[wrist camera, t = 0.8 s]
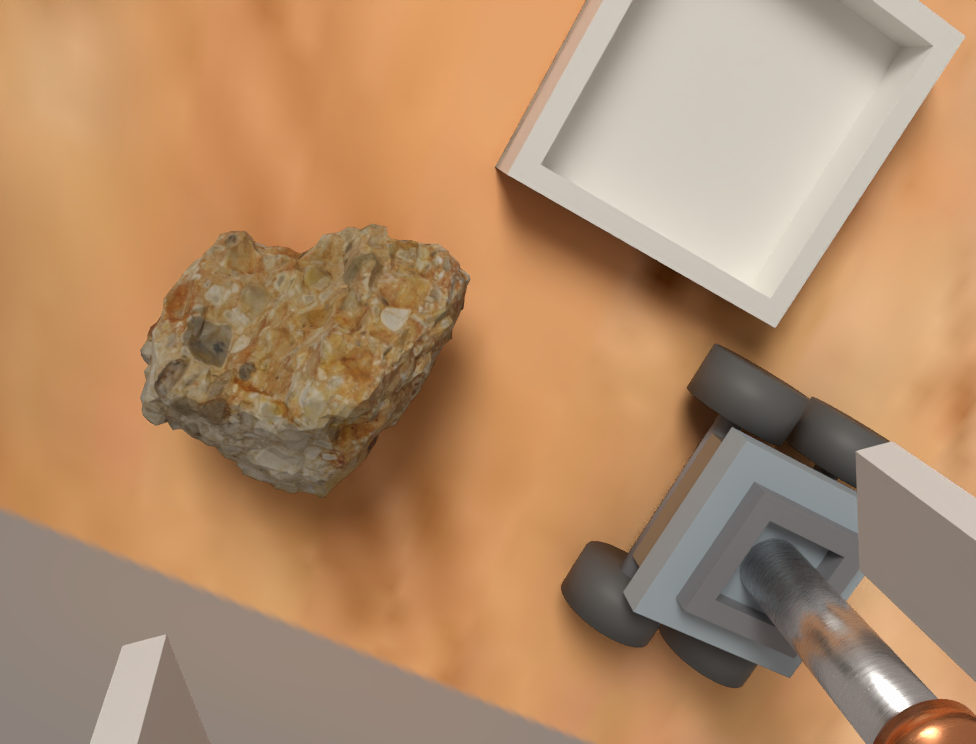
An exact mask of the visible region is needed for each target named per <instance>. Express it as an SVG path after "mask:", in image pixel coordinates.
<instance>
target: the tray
mask: <svg viewBox="0 0 976 744" xmlns="http://www.w3.org/2000/svg"><path fill="white" fill-rule="evenodd" d="M964 38H965V36H964V35H963V34H962V33H960V32H959V31H958V30H957V29H955V28H954V27H953V26H951V25H950V24H949V23H947V22H946V21H945V20H943V19H942V18H941V17H939V16H938V15H937V14H935V13H934V12H933V11H932V10H930V9H929V8H928V7H926V6H925V5H924V4H922V3H921V2H920V1H918V0H586V2H585V4H584V5H583V7H582V9H581V11H580V13H579V15H578V16H577V18H576V20H575V22H574V24H573V26H572V27H571V29H570V31H569V33H568V35H567V37H566V38H565V40H564V42H563V44H562V46H561V48H560V49H559V51H558V53H557V55H556V57H555V59H554V60H553V62H552V64H551V66H550V68H549V69H548V71H547V73H546V75H545V77H544V79H543V80H542V82H541V84H540V86H539V88H538V90H537V91H536V93H535V95H534V97H533V99H532V101H531V102H530V104H529V106H528V108H527V110H526V112H525V113H524V115H523V117H522V119H521V121H520V123H519V124H518V126H517V128H516V130H515V132H514V134H513V135H512V137H511V139H510V141H509V143H508V145H507V146H506V148H505V150H504V152H503V154H502V155H501V157H500V159H499V161H498V163H497V165H496V166H495V167H496V168H498V169H499V170H501V171H502V172H504V173H505V174H507V175H509V176H510V177H512V178H514V179H516V180H517V181H519V182H521V183H523V184H524V185H526V186H528V187H530V188H531V189H533V190H535V191H537V192H538V193H540V194H542V195H544V196H545V197H547V198H549V199H551V200H552V201H554V202H556V203H558V204H559V205H561V206H563V207H565V208H566V209H568V210H570V211H572V212H573V213H575V214H577V215H579V216H580V217H582V218H584V219H586V220H587V221H589V222H591V223H593V224H594V225H596V226H598V227H600V228H601V229H603V230H605V231H607V232H608V233H610V234H612V235H613V236H615V237H617V238H619V239H620V240H622V241H624V242H626V243H627V244H629V245H631V246H633V247H634V248H636V249H638V250H640V251H641V252H643V253H645V254H647V255H648V256H650V257H652V258H654V259H655V260H657V261H659V262H661V263H662V264H664V265H666V266H668V267H669V268H671V269H673V270H675V271H676V272H678V273H680V274H682V275H683V276H685V277H687V278H689V279H690V280H692V281H694V282H696V283H697V284H699V285H701V286H703V287H704V288H706V289H708V290H710V291H711V292H713V293H715V294H717V295H718V296H720V297H722V298H724V299H725V300H727V301H729V302H731V303H732V304H734V305H736V306H738V307H739V308H741V309H743V310H745V311H746V312H748V313H750V314H752V315H753V316H755V317H757V318H759V319H760V320H762V321H764V322H765V323H767V324H769V325H771V326H772V327H774V328H776V326H777V325H778V323H779V322H780V320H781V319H782V317H783V315H784V314H785V312H786V311H787V309H788V308H789V306H790V305H791V303H792V302H793V300H794V299H795V297H796V296H797V294H798V292H799V291H800V289H801V288H802V286H803V285H804V283H805V282H806V280H807V279H808V277H809V276H810V274H811V273H812V271H813V269H814V268H815V266H816V265H817V263H818V262H819V260H820V259H821V257H822V256H823V254H824V253H825V251H826V250H827V248H828V246H829V245H830V243H831V242H832V240H833V239H834V237H835V236H836V234H837V233H838V231H839V230H840V228H841V227H842V225H843V223H844V222H845V220H846V219H847V217H848V216H849V214H850V213H851V211H852V210H853V208H854V207H855V205H856V204H857V202H858V200H859V199H860V197H861V196H862V194H863V193H864V191H865V190H866V188H867V187H868V185H869V184H870V182H871V181H872V179H873V177H874V176H875V174H876V173H877V171H878V170H879V168H880V167H881V165H882V164H883V162H884V161H885V159H886V158H887V156H888V154H889V153H890V151H891V150H892V148H893V147H894V145H895V144H896V142H897V141H898V139H899V138H900V136H901V135H902V133H903V131H904V130H905V128H906V127H907V125H908V124H909V122H910V121H911V119H912V118H913V116H914V115H915V113H916V112H917V110H918V108H919V107H920V105H921V104H922V102H923V101H924V99H925V98H926V96H927V95H928V93H929V92H930V90H931V89H932V87H933V85H934V84H935V82H936V81H937V79H938V78H939V76H940V75H941V73H942V72H943V70H944V69H945V67H946V66H947V64H948V62H949V61H950V59H951V58H952V56H953V55H954V53H955V52H956V50H957V49H958V47H959V46H960V44H961V43H962V41H963V39H964Z"/></svg>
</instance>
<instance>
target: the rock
mask: <svg viewBox="0 0 976 744" xmlns="http://www.w3.org/2000/svg"><path fill="white" fill-rule="evenodd" d="M469 281H470V277H469V275H468V274H467V273H466V272H465V271H463V270H462V269H461V268H460V265H459V262H458V261H457V260H456V259H455V258H454V257H453V256H452V255H451V254H450V253H449V251H448V250H446V249H445V248H443V247H442V246H440V245H439V244H423V243H418V242H415V241H412V240H401V241H400V240H395V239H391V238H390V237H389V236H388V232H387V228H386V227H385V226H381V225H375V224H371V225H369V226H367V227H365V228H363V229H358V228H355V227H347V228H345V229H344V230H342V231H341V232H338V233H330V234H326V235H322V237H321V238H320V240H319V242H318V243H317V245H315V246H314V247H312V248H311V249H309V250H308V251H306V252H304V253H302V254H301V253H297V252H295V251H293V250H291V249H290V248H286V247H280V246H273V247H266V246H264V245H262V244H260V243H257V242H255V241H253V239H252V237H251V236H250V235H249V234H248V233H247V232H245V231H230V232H227V233H224V234H221V235H220V236H219V237H218V239H217V240H216V242H215V244H214V245H213V246H212V247H211V248H210V249H209V250H207V251H206V252H205V253H204V254H203V256H202V257H201V258H199V259H198V260H196V261H195V262H193V263H192V264H191V265H190V266H189V268H188V269H187V270H186V271H185V272H184V274H183V275H182V276H181V278H180V279H179V280H178V281H177V283H176V284H175V285H174V286H173V287H172V289H171V290H170V291H169V293H168V294H167V295H166V297H165V298H164V307H163V311H162V314H161V317H160V318H159V320H158V321H157V323H155V324H154V325H153V326H151V328H150V330H149V333H148V338H147V341H146V343H145V344H144V345H143V347H142V348H141V356H142V357H143V359H144V361H145V362H146V363H147V364H148V365H149V366H148V367H147V368H146V369H145V370H144V373H145V377H146V383H145V386H144V388H143V391H142V394H141V397H140V398H141V402H142V413H143V416H144V417H145V418H146V419H147V420H148V421H149V422H150V423H152V424H154V425H156V426H157V425H160V424H163V423H166V422H168V423H169V425H170V426H171V428H172V430H176V429H183V430H184V431H185V432H186V433H187V434H189V435H190V436H191V437H193V438H195V439H198V440H200V441H202V442H203V443H205V444H206V445H209V446H214V447H216V448H217V449H218V450H219V452H220V453H221V454H222V455H223V456H224V457H225V458H227V459H230V460H233V461H235V462H236V465H237V466H238V467H239V468H241V470H242V473H243V475H246V476H249V477H251V478H254V479H256V480H259V481H264V482H268V483H270V484H271V485H272V486H273V487H274V488H275V489H282V490H284V491H286V492H288V493H296V492H300V491H302V492H307V493H311V494H316V495H317V496H318V497H319V498H325V496H326V495H327V494H328V493H329V492H330V491H331V490H332V489H333V488H334V487H335V486H336V485H337V484H338V483H340V482H341V481H342V480H343V479H344V478H345V477H346V476H348V475H349V474H350V473H351V472H352V471H353V470H355V469H356V468H357V467H358V466H359V465H360V464H361V463H362V462H363V461H364V460H365V459H366V457H367V456H368V454H369V452H370V450H371V449H372V447H373V446H374V445H375V443H376V440H377V438H378V435H379V433H380V432H382V431H383V430H384V429H386V428H388V427H391V426H393V425H395V424H396V423H397V421H398V420H399V419H400V418H401V416H402V414H403V413H404V411H405V410H406V408H407V407H408V405H409V403H410V402H411V401H412V400H413V399H414V397H415V396H416V395H417V394H418V393H419V392H420V389H421V386H422V385H423V383H424V382H425V380H426V379H427V377H428V376H429V374H430V372H431V369H432V367H433V366H434V364H435V358H436V357H437V355H438V354H439V352H440V351H441V349H442V347H443V346H444V345H445V344H446V343H447V342H448V341H449V340H450V339H452V328H453V326H454V324H455V322H456V320H457V318H458V316H459V314H460V311H461V310H462V309H463V307H464V297H465V293H466V289H467V285H468V283H469Z"/></svg>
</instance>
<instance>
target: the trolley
mask: <svg viewBox="0 0 976 744" xmlns="http://www.w3.org/2000/svg"><path fill="white" fill-rule="evenodd" d="M687 389H688V390H689V391H690V392H691V393H692V394H693V395H694V396H695V397H696V398H698V399H699V400H700V401H701V402H703V403H704V404H705V405H707V406H708V407H710V408H711V409H713V410H714V411H716V412H717V413H718V414H719V415H718V416H717V418H716V420H715V421H714V423H713V424H712V426H711V427H710V429H709V430H708V432H707V433H706V435H705V436H704V438H703V439H702V441H701V443H700V444H699V446H698V447H697V449H696V450H695V452H694V453H693V455H692V456H691V458H690V459H689V461H688V462H687V464H686V466H685V467H684V469H683V470H682V472H681V473H680V475H679V476H678V478H677V479H676V481H675V482H674V484H673V485H672V487H671V489H670V490H669V492H668V493H667V495H666V496H665V498H664V499H663V501H662V502H661V504H660V505H659V507H658V508H657V510H656V512H655V513H654V515H653V516H652V518H651V519H650V521H649V522H648V524H647V525H646V527H645V528H644V530H643V531H642V533H641V535H640V536H639V538H638V539H637V541H636V542H635V544H634V545H633V547H632V548H631V550H630V551H629V553H627V552H625V551H623V550H621V549H619V548H617V547H615V546H612V545H610V544H607V543H603V542H599V541H591V542H589V543H588V544H587V545H586V546H585V548H584V550H583V551H582V553H581V554H580V556H579V557H578V559H577V560H576V562H575V564H574V565H573V567H572V568H571V570H570V571H569V573H568V575H567V576H566V578H565V579H564V581H563V582H562V585H561V590H562V594H563V596H564V598H565V599H566V601H567V603H568V604H569V605H570V607H571V608H572V609H573V610H574V611H575V612H576V613H577V614H578V615H579V616H580V617H581V618H582V619H583V620H584V621H585V622H587V623H588V624H589V625H590V626H592V627H593V628H594V629H596V630H597V631H599V632H600V633H602V634H603V635H605V636H607V637H608V638H610V639H612V640H614V641H616V642H619V643H621V644H624V645H627V646H631V647H644V646H646V645H647V644H648V643H649V641H650V640H651V638H652V637H653V635H654V634H655V632H656V631H657V629H658V628H659V630H660V633H661V635H662V637H663V638H664V640H665V641H666V643H667V644H668V645H669V646H670V648H671V649H672V650H673V651H674V652H675V653H676V654H677V655H678V656H679V657H680V658H681V659H682V660H683V661H685V662H686V663H687V664H688V665H690V666H691V667H692V668H693V669H695V670H696V671H698V672H699V673H701V674H702V675H704V676H705V677H707V678H709V679H711V680H712V681H714V682H716V683H719V684H721V685H724V686H727V687H731V688H739V687H742V686H743V684H744V683H745V682H746V680H747V679H748V677H749V676H750V675H751V673H752V672H753V670H754V669H755V668H756V666H757V665H760V666H763V667H765V668H767V669H770V670H772V671H774V672H777V673H779V674H781V675H784V676H786V677H788V678H790V677H791V676H792V675H793V673H794V672H795V670H796V669H797V668H798V666H799V665H800V664H801V662H802V660H801V659H800V657H799V656H798V655H797V653H796V652H795V651H794V650H793V648H792V647H791V646H790V644H789V643H788V642H787V640H786V639H785V638H784V637H783V635H782V634H781V633H780V631H779V630H778V629H777V627H776V626H775V625H774V624H773V622H772V621H771V620H770V618H769V617H768V616H767V615H766V613H765V612H764V611H763V609H762V608H761V607H760V605H759V604H758V603H757V602H756V600H755V599H754V598H753V596H752V595H751V594H750V592H749V591H748V590H747V589H746V587H745V586H744V585H743V583H742V581H741V579H740V573H739V571H740V564H741V562H742V561H743V559H744V558H745V556H746V555H747V554H748V552H749V551H750V549H751V548H752V547H753V546H754V545H756V544H757V543H759V542H761V541H764V540H767V539H772V538H779V539H784V540H787V541H789V542H790V543H792V544H793V545H794V546H795V547H796V548H797V549H798V550H799V551H800V553H801V554H802V555H803V556H804V557H805V558H806V559H807V560H808V561H809V562H810V563H811V564H812V565H813V566H814V567H815V568H816V570H817V571H818V572H819V573H820V574H821V575H822V576H823V577H824V578H825V579H826V580H827V581H828V582H829V583H830V584H831V585H832V587H833V588H834V589H835V590H836V591H837V592H838V593H839V594H840V595H841V596H842V597H843V598H844V599H845V600H846V601H847V599H848V598H849V596H850V595H851V594H852V592H853V591H854V590H855V588H856V587H857V585H858V584H859V583H860V581H861V580H862V579H863V577H864V576H865V575H864V574H863V573H862V572H861V571H860V570H859V541H858V511H857V492H856V491H854V490H852V489H850V488H848V487H846V486H845V485H843V484H841V483H839V482H837V479H838V478H839V479H841V480H843V481H844V482H846V483H848V484H850V485H851V486H853V487H855V488H857V482H856V452H855V451H858V450H861V449H865V448H869V447H873V446H876V445H880V444H884V443H888V442H890V441H889V440H887V439H886V438H884V437H883V436H881V435H879V434H878V433H876V432H875V431H873V430H871V429H870V428H868V427H867V426H865V425H863V424H862V423H860V422H858V421H857V420H855V419H853V418H852V417H850V416H848V415H846V414H845V413H843V412H841V411H839V410H838V409H836V408H834V407H832V406H831V405H829V404H827V403H825V402H823V401H821V400H819V399H817V398H815V397H811V399H809V398H808V397H806V396H805V395H804V394H802V393H801V392H799V391H798V390H796V389H795V388H793V387H792V386H790V385H789V384H787V383H785V382H784V381H782V380H781V379H779V378H777V377H776V376H774V375H773V374H771V373H769V372H768V371H766V370H764V369H763V368H761V367H759V366H758V365H756V364H754V363H752V362H751V361H749V360H747V359H745V358H744V357H742V356H740V355H738V354H736V353H735V352H733V351H731V350H729V349H727V348H725V347H723V346H721V345H718V344H714V346H713V347H712V349H711V350H710V352H709V353H708V355H707V357H706V358H705V360H704V361H703V363H702V364H701V366H700V368H699V369H698V371H697V372H696V374H695V375H694V377H693V379H692V380H691V382H690V383H689V385H688V386H687ZM741 428H743V429H744V430H746V431H748V432H750V433H752V434H753V435H755V436H757V437H759V438H761V439H763V440H765V441H767V442H769V443H772V444H774V445H777V446H782V445H783V443H784V442H785V440H786V441H787V442H788V443H789V444H790V445H791V446H792V447H793V448H795V449H796V450H797V451H798V452H800V453H801V454H803V455H804V456H805V457H807V458H808V459H810V460H811V461H813V462H814V463H815V464H816V465H815V466H814V467H813V469H812V468H810V467H808V466H806V465H804V464H802V463H800V462H798V461H797V460H795V459H793V458H791V457H789V456H787V455H785V454H783V453H781V452H779V451H777V450H775V449H773V448H772V447H770V446H768V445H766V444H764V443H762V442H760V441H758V440H756V439H754V438H752V437H750V436H748V435H747V434H745V433H743V432H741V431H740V430H741Z"/></svg>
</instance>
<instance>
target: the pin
mask: <svg viewBox="0 0 976 744" xmlns="http://www.w3.org/2000/svg"><path fill="white" fill-rule="evenodd" d="M739 573H740V579H741V581H742V583H743V585H744V586H745V587H746V589H747V590H748V591H749V592H750V594H751V595H752V596H753V598H754V599H755V600H756V602H757V603H758V604H759V605H760V607H761V608H762V609H763V611H764V612H765V613H766V615H767V616H768V617H769V618H770V620H771V621H772V622H773V624H774V625H775V626H776V627H777V629H778V630H779V631H780V633H781V634H782V635H783V637H784V638H785V639H786V640H787V642H788V643H789V644H790V646H791V647H792V648H793V650H794V651H795V652H796V653H797V655H798V656H799V657H800V659H801V660H802V661H803V663H804V664H805V665H806V666H807V668H808V669H809V670H810V672H811V673H812V674H813V676H814V677H815V678H816V679H817V681H818V682H819V683H820V685H821V686H822V687H823V689H824V690H825V691H826V692H827V694H828V695H829V696H830V698H831V699H832V700H833V701H834V703H835V704H836V705H837V707H838V708H839V709H840V711H841V712H842V713H843V714H844V716H845V717H846V718H847V720H848V721H849V722H850V724H851V725H852V726H853V727H854V729H855V730H856V731H857V733H858V734H859V735H860V737H861V738H862V739H863V740H864V742H865V743H866V744H976V715H975V714H974V713H973V712H972V711H971V710H970V709H969V708H967V707H966V706H965V705H963V704H961V703H959V702H956V701H953V700H948V699H938V698H937V697H936V696H935V695H934V694H933V693H932V692H931V691H930V690H929V689H928V688H927V687H926V685H925V684H924V683H923V682H922V681H921V680H920V679H919V678H918V677H917V676H916V675H915V674H914V673H913V672H912V671H911V670H910V668H909V667H908V666H907V665H906V664H905V663H904V662H903V661H902V660H901V659H900V658H899V657H898V656H897V655H896V654H895V653H894V651H893V650H892V649H891V648H890V647H889V646H888V645H887V644H886V643H885V642H884V641H883V640H882V639H881V638H880V637H879V635H878V634H877V633H876V632H875V631H874V630H873V629H872V628H871V627H870V626H869V625H868V624H867V623H866V622H865V621H864V620H863V618H862V617H861V616H860V615H859V614H858V613H857V612H856V611H855V610H854V609H853V608H852V607H851V606H850V605H849V604H848V603H847V601H846V600H845V599H844V598H843V597H842V596H841V595H840V594H839V593H838V592H837V591H836V590H835V589H834V588H833V587H832V585H831V584H830V583H829V582H828V581H827V580H826V579H825V578H824V577H823V576H822V575H821V574H820V573H819V572H818V571H817V570H816V568H815V567H814V566H813V565H812V564H811V563H810V562H809V561H808V560H807V559H806V558H805V557H804V556H803V555H802V554H801V553H800V551H799V550H798V549H797V548H796V547H795V546H794V545H793V544H792V543H790V542H789V541H787V540H784V539H779V538H772V539H767V540H764V541H761V542H759V543H757V544H756V545H754V546H753V547H752V548H751V549H750V551H749V552H748V554H747V555H746V556H745V558H744V559H743V561H742V562H741V564H740V571H739Z"/></svg>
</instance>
